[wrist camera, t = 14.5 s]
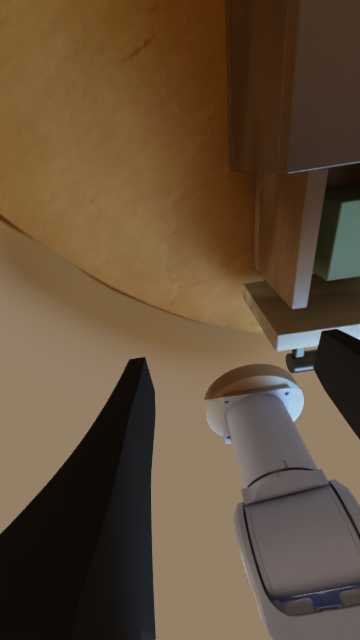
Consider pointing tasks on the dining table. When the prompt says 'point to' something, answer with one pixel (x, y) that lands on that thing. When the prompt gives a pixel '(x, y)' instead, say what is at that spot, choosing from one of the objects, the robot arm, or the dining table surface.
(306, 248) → the drawer
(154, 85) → the dining table surface
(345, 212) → the block
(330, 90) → the cabinet
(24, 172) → the dining table surface
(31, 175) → the dining table surface
